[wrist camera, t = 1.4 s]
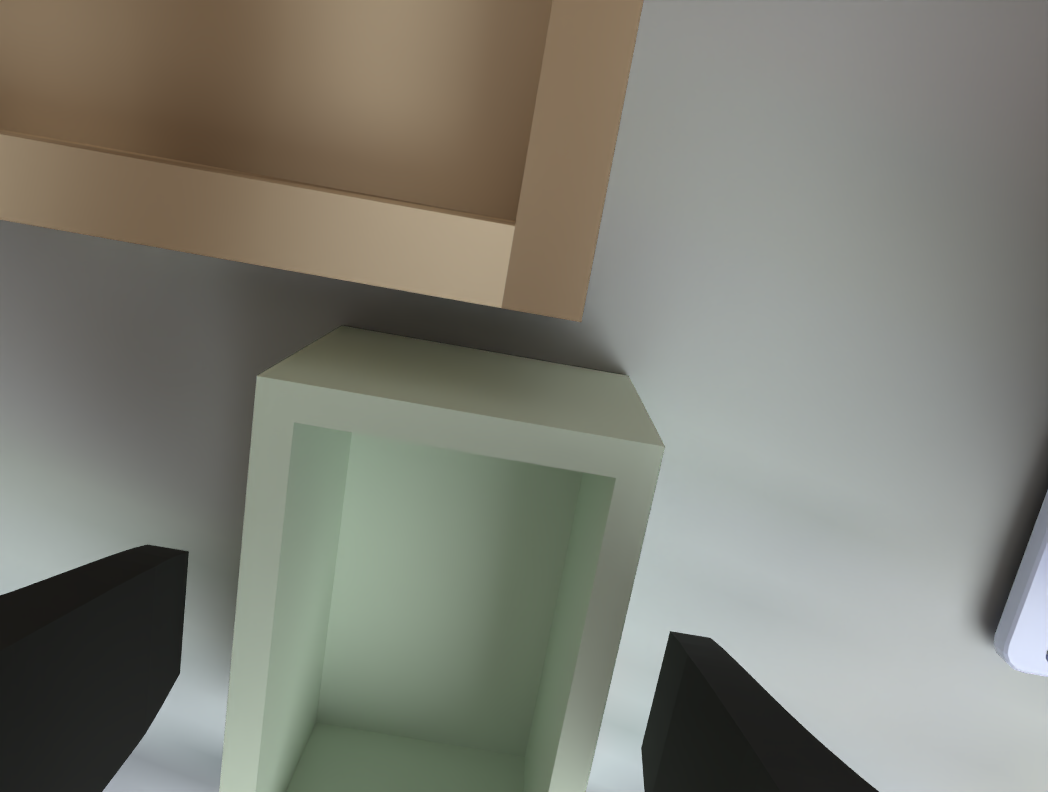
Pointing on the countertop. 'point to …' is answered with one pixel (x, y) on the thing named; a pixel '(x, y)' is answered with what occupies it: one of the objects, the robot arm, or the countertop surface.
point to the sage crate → (432, 568)
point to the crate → (326, 135)
